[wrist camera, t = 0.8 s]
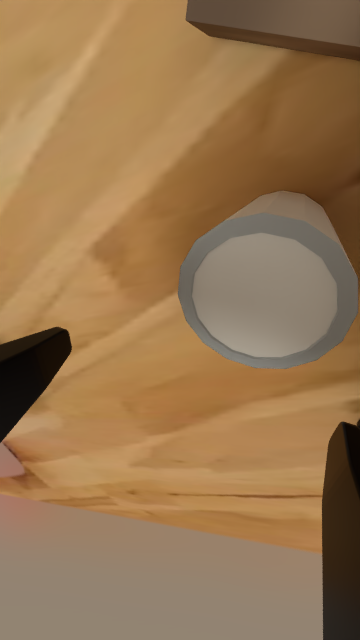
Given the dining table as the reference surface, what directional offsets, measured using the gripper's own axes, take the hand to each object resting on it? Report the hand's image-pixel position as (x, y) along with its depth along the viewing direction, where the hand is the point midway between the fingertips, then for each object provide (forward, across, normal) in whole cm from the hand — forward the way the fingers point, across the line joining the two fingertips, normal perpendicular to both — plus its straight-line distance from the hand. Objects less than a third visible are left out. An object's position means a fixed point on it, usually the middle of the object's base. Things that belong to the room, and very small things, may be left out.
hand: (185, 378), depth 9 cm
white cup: (+11, -1, -1) cm, 11 cm away
